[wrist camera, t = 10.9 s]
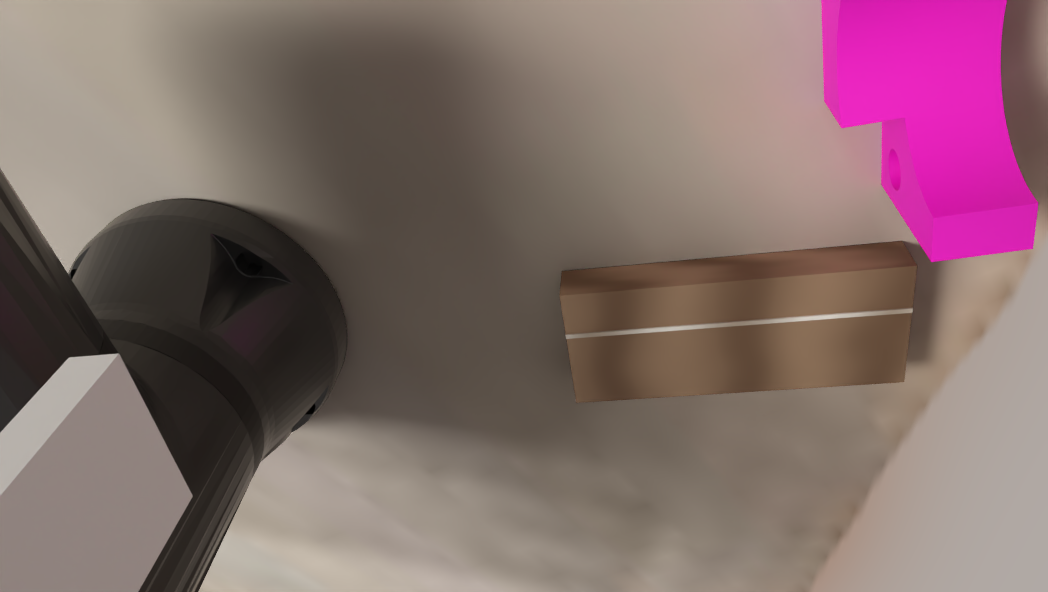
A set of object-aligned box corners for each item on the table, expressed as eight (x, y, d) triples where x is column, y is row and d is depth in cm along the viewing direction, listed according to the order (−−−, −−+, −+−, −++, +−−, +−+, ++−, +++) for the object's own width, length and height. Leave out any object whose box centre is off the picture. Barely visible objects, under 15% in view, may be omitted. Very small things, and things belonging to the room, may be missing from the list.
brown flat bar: (577, 375, 47) (576, 403, 45) (561, 271, 43) (559, 296, 41) (890, 354, 44) (904, 383, 42) (902, 241, 41) (917, 266, 39)
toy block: (816, -153, 32) (866, -133, 26) (988, -192, 31) (1085, -182, 25) (825, 191, 40) (866, 270, 34) (964, 170, 39) (1032, 248, 32)
